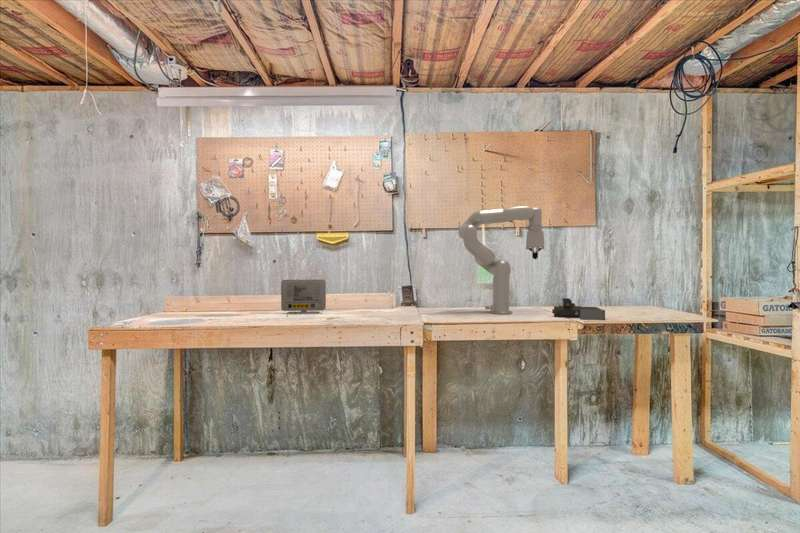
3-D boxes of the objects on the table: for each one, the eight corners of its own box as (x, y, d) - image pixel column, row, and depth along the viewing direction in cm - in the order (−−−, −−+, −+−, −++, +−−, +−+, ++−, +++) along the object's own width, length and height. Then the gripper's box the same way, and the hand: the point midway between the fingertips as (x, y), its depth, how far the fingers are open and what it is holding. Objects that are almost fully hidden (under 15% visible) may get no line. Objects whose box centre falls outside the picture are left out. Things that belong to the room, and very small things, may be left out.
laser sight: (598, 319, 220) (598, 300, 220) (553, 317, 226) (553, 299, 226) (594, 317, 229) (595, 299, 229) (551, 315, 235) (551, 298, 235)
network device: (326, 312, 252) (326, 279, 251) (324, 314, 243) (324, 279, 243) (283, 312, 250) (283, 279, 250) (280, 314, 241) (280, 280, 241)
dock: (580, 319, 219) (580, 309, 219) (573, 315, 235) (573, 306, 235) (605, 319, 216) (605, 310, 216) (596, 315, 233) (596, 306, 233)
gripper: (522, 228, 246) (522, 259, 247) (549, 227, 243) (549, 259, 243) (521, 229, 254) (521, 259, 254) (547, 228, 250) (547, 259, 251)
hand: (535, 259), depth 249 cm, fingers closed
